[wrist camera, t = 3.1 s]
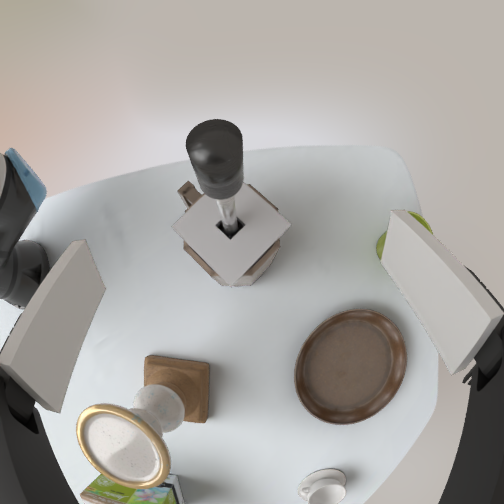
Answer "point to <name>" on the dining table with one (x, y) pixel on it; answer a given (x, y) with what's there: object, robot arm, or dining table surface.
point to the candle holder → (145, 423)
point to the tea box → (132, 493)
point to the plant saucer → (350, 367)
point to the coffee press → (241, 245)
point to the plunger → (219, 167)
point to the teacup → (323, 487)
